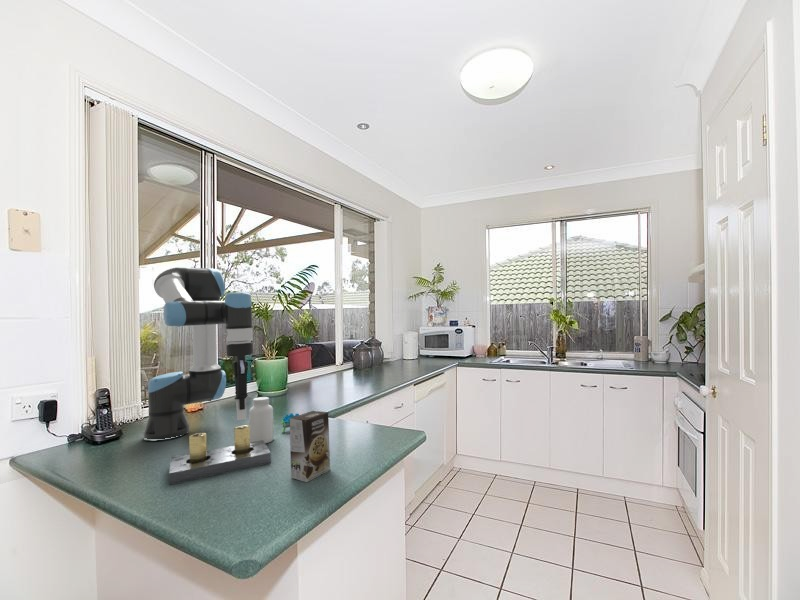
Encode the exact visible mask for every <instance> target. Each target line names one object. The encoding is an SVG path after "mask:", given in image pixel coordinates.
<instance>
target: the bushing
mask: <svg viewBox="0 0 800 600" xmlns="http://www.w3.org/2000/svg"><path fill="white" fill-rule="evenodd" d="M233 430H234V431H233V435H234V437H233V438H234V445H235V454H236V455H240V454H245V453H249V452H250V426H249V425H238V426H235V427H234V428H233Z"/></svg>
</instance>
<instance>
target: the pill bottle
mask: <svg viewBox="0 0 800 600" xmlns="http://www.w3.org/2000/svg"><path fill="white" fill-rule="evenodd" d="M252 405H253V406H252V407H250V408H249V411H248V417H249V418H248V421H249V423H248V426H250V442H255V441H260V440H263V441H264V443H265V444H267V443H270V442H273V440H274V435H275V434H274V432H275V431H274V408H273V406H272V405H270V397H267V396H260V397H255V398H253V399H252Z"/></svg>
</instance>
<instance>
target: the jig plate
mask: <svg viewBox="0 0 800 600" xmlns="http://www.w3.org/2000/svg"><path fill="white" fill-rule="evenodd" d="M271 456H272V453H271V450H270V449H269V447H268V446H267V443H264V441H263V440H260V441H255V442H250V452H249V453H245V454H240V455H236V454H235V444H234V445H230V446H229V445H228V446H225V447H223V446H222V447H220V448H215V449H207V460H206V461H204V462H200V463H195V464H190V453H187V454H181V455H176V456H171V459H170V463H169V465H170V466H169V471H168V479H169V480H168V484H169V485H176V484H181V483H185V482H190V481H194V480H198V479H202V478H203V479H204V478H208V477H212V476H217V475H221V474H225V473H231V472H235V471H240V470H244V469H249V468H253V467H257V466H262V464H263V465H267V463H268V464H271V463H272V457H271Z"/></svg>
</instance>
